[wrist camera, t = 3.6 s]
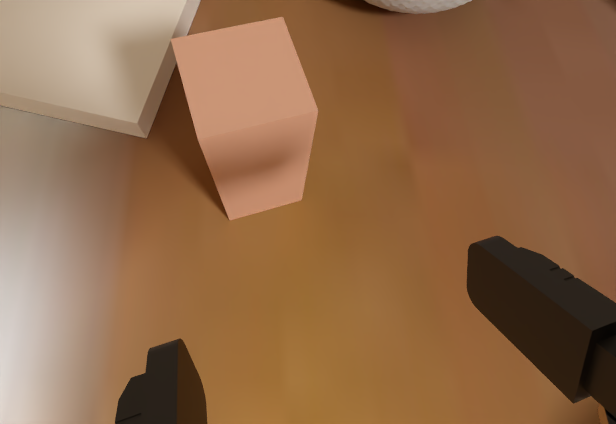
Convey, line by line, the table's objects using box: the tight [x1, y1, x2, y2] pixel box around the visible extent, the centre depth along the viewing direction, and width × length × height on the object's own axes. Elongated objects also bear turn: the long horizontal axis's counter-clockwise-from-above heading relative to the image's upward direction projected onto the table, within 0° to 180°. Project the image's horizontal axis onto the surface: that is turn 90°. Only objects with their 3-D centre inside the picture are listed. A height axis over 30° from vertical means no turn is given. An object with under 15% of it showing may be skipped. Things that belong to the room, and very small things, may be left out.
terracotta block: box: [171, 17, 318, 220], centre depth 22 cm, size 5×5×11 cm
